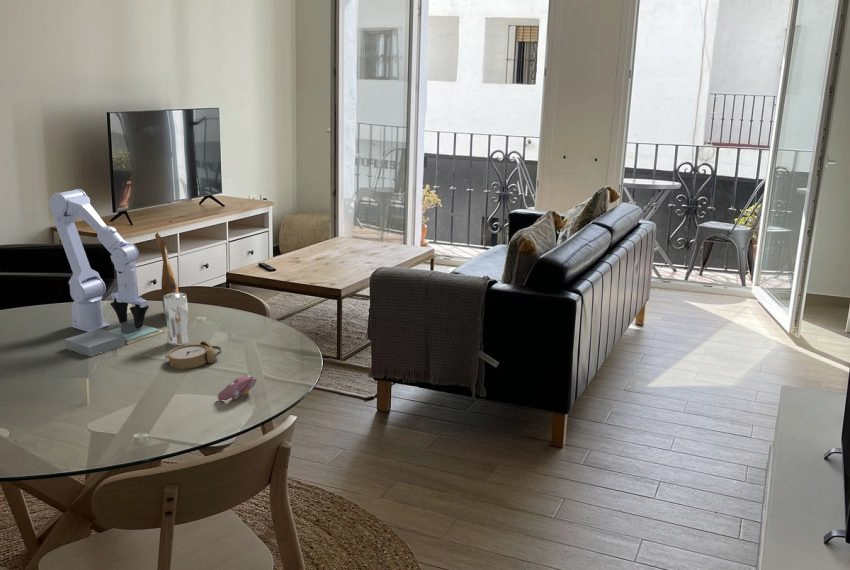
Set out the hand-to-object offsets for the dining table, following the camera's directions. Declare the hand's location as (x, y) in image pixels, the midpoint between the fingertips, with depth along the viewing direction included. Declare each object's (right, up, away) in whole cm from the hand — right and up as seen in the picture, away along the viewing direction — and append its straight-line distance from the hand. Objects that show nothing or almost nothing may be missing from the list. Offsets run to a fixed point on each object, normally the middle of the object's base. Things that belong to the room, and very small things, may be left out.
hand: (131, 325), depth 259 cm
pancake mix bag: (+7, +2, +18) cm, 20 cm away
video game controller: (+44, -17, -45) cm, 65 cm away
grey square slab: (-7, -6, -11) cm, 14 cm away
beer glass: (+17, -5, -6) cm, 19 cm away
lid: (0, -3, 0) cm, 3 cm away
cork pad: (0, -3, +1) cm, 3 cm away
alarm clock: (+26, -10, -21) cm, 35 cm away
